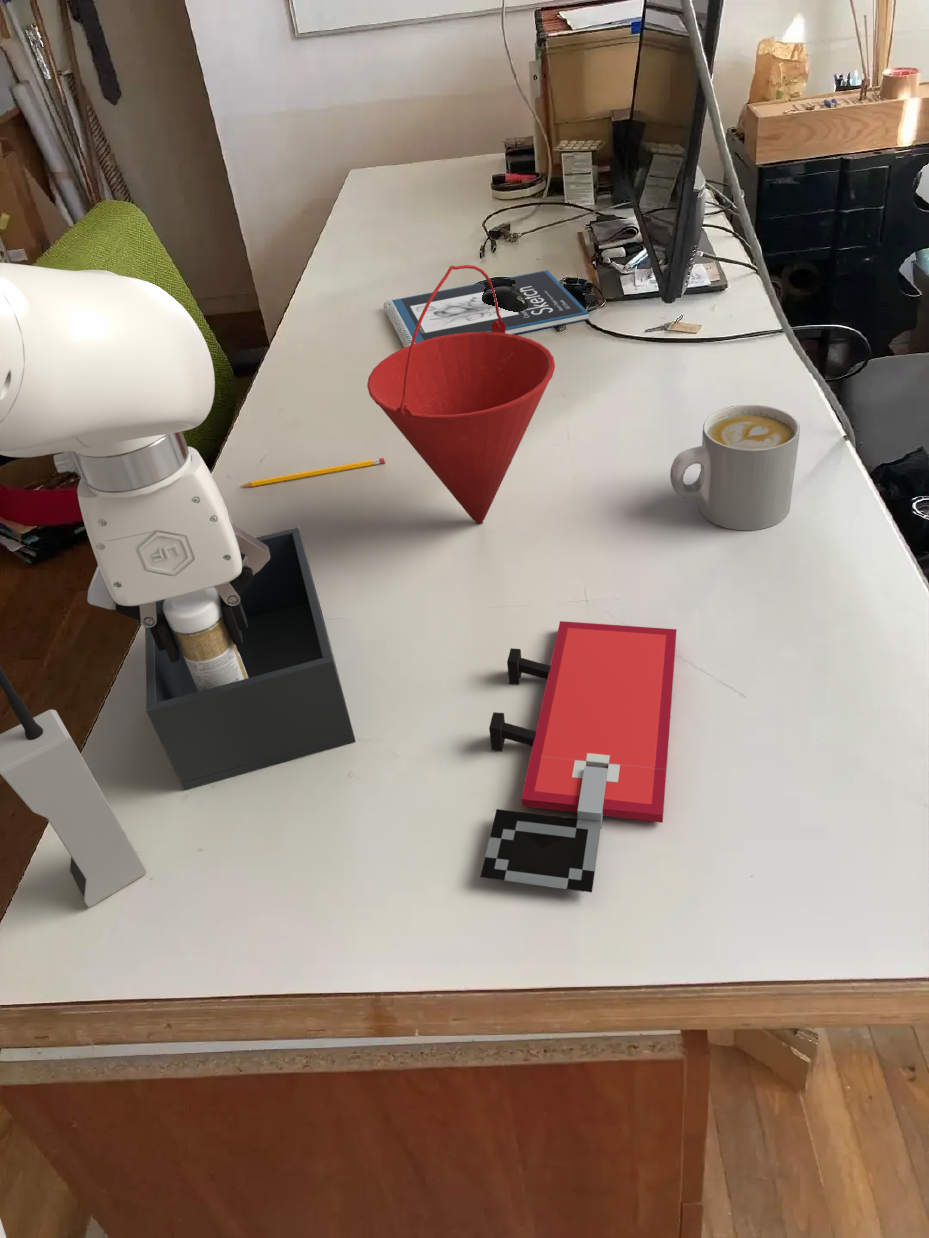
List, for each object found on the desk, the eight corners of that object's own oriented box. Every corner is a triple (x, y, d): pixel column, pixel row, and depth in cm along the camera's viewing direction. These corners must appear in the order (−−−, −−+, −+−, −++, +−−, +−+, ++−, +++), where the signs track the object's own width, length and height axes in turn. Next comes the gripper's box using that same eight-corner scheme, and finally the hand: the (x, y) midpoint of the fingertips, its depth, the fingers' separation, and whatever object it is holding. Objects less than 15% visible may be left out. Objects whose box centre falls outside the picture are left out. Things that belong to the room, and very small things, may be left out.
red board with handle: (457, 881, 71) (656, 908, 68) (453, 859, 69) (657, 885, 66) (523, 629, 93) (675, 640, 90) (521, 607, 92) (677, 618, 88)
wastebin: (355, 741, 84) (333, 661, 78) (183, 790, 82) (146, 711, 75) (319, 602, 100) (298, 526, 94) (175, 640, 98) (143, 565, 92)
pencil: (385, 464, 122) (384, 460, 121) (239, 490, 121) (238, 486, 120) (384, 461, 122) (383, 457, 122) (239, 487, 121) (238, 483, 121)
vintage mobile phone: (74, 879, 76) (-73, 654, 60) (132, 846, 78) (4, 619, 62) (89, 910, 73) (-61, 683, 57) (148, 874, 75) (19, 646, 59)
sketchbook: (589, 320, 149) (589, 308, 148) (408, 359, 146) (406, 347, 144) (547, 276, 166) (547, 265, 164) (383, 310, 162) (381, 298, 161)
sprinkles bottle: (258, 691, 86) (217, 575, 77) (260, 725, 82) (217, 608, 74) (208, 702, 85) (161, 587, 77) (208, 737, 82) (159, 621, 73)
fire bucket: (450, 463, 120) (416, 223, 101) (592, 489, 111) (584, 232, 92) (359, 558, 106) (300, 300, 87) (514, 595, 98) (485, 319, 78)
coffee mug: (781, 479, 108) (790, 401, 102) (797, 528, 101) (808, 447, 94) (664, 485, 110) (666, 409, 104) (672, 534, 103) (674, 455, 96)
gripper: (6, 508, 63) (104, 699, 74) (254, 450, 65) (311, 644, 76) (17, 457, 68) (106, 642, 80) (245, 405, 71) (299, 592, 82)
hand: (206, 641), depth 78 cm, fingers closed on sprinkles bottle, 4 cm apart
